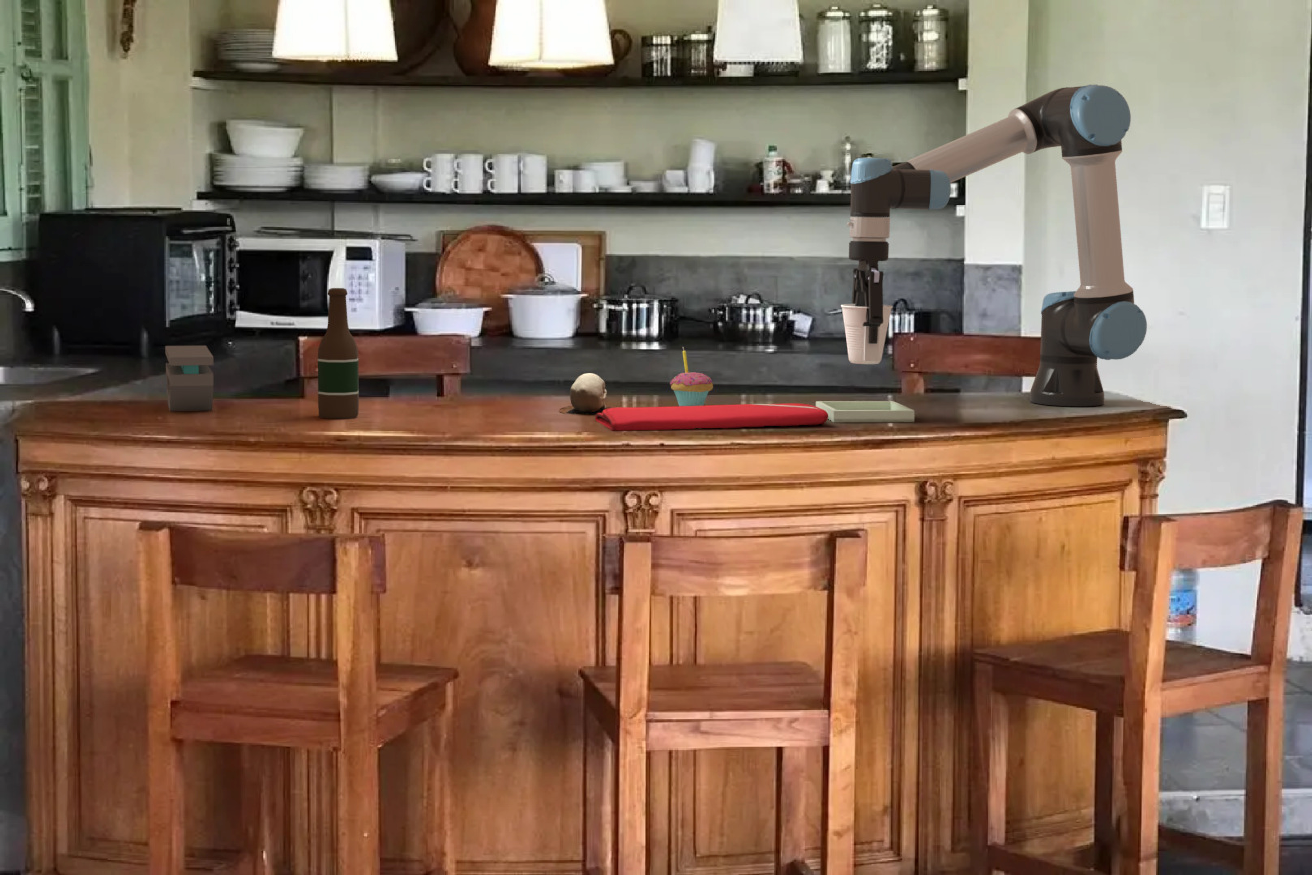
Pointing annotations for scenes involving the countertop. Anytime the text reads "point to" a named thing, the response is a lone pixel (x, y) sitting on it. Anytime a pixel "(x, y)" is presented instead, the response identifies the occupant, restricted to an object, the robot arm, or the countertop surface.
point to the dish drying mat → (711, 416)
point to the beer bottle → (338, 363)
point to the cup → (862, 331)
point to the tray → (866, 411)
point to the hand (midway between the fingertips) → (865, 358)
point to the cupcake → (691, 386)
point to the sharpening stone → (189, 378)
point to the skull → (587, 396)
